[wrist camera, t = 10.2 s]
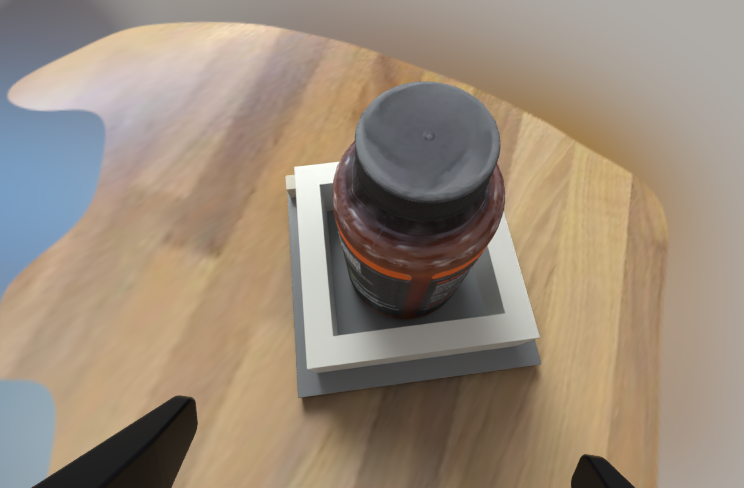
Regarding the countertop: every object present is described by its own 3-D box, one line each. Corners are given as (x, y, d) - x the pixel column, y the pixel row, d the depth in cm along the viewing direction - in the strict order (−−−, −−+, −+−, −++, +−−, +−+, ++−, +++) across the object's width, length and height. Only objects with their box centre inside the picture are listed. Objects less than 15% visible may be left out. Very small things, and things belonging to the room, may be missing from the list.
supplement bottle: (472, 241, 21) (568, 91, 11) (434, 341, 19) (507, 277, 9) (374, 202, 22) (374, 29, 12) (329, 294, 20) (279, 185, 10)
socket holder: (534, 365, 20) (570, 358, 16) (301, 397, 19) (284, 397, 16) (480, 167, 24) (498, 127, 20) (289, 189, 24) (274, 153, 20)
